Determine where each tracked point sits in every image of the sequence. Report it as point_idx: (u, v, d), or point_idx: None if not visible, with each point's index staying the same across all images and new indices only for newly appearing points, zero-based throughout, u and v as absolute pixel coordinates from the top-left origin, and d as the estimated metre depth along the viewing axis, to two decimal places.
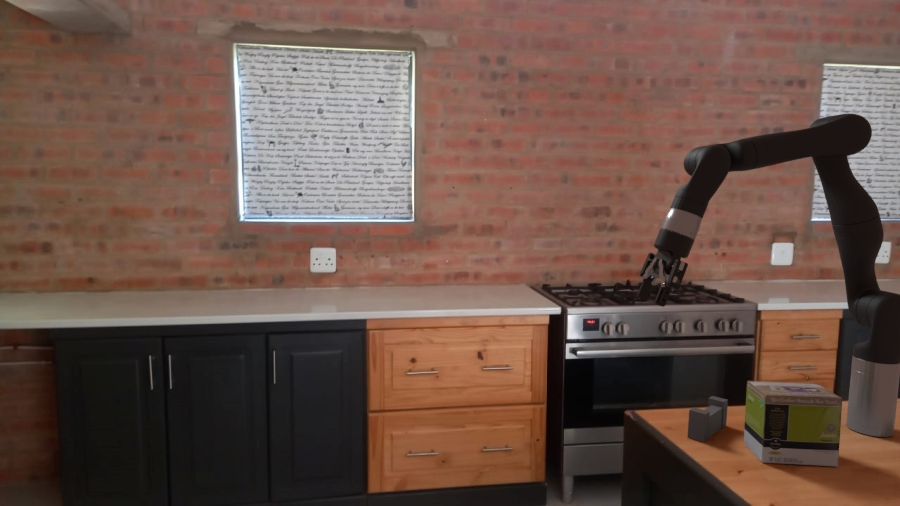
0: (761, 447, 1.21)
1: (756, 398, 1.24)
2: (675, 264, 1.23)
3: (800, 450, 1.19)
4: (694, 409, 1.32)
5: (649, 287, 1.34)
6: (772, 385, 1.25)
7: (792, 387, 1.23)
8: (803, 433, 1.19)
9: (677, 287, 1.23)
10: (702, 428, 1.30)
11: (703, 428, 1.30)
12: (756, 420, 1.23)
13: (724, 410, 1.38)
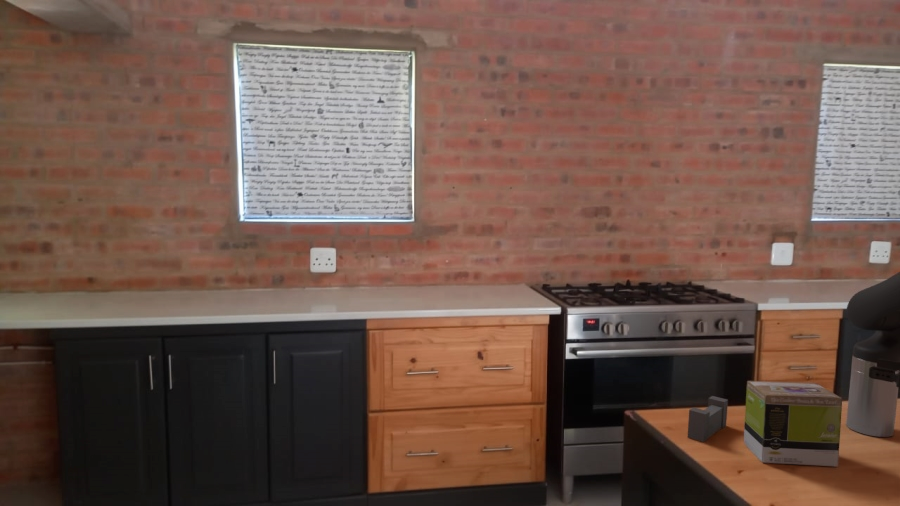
0: (761, 447, 1.21)
1: (756, 398, 1.24)
2: None
3: (800, 450, 1.19)
4: (694, 409, 1.32)
5: None
6: (772, 385, 1.25)
7: (792, 387, 1.23)
8: (803, 433, 1.19)
9: None
10: (702, 428, 1.30)
11: (703, 428, 1.30)
12: (756, 420, 1.23)
13: (724, 410, 1.38)
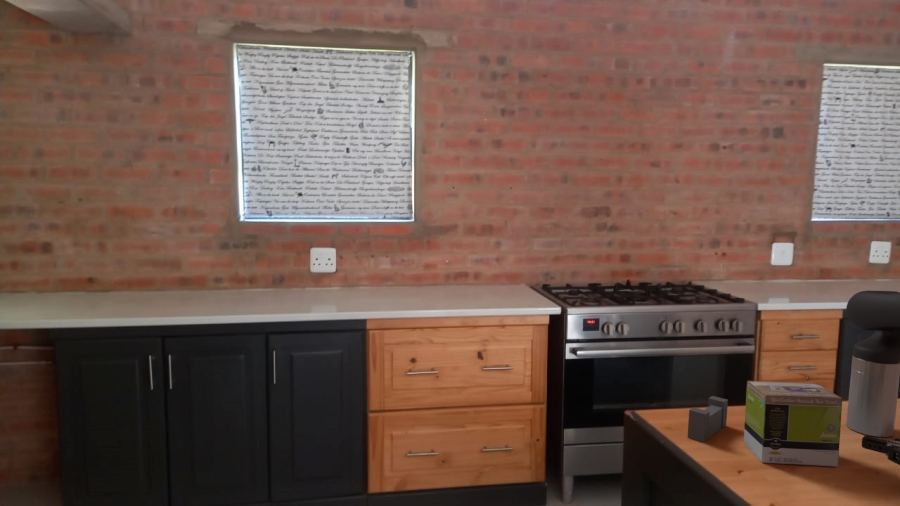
0: (761, 447, 1.21)
1: (756, 398, 1.24)
2: None
3: (800, 450, 1.19)
4: (694, 409, 1.32)
5: None
6: (772, 385, 1.25)
7: (792, 387, 1.23)
8: (803, 433, 1.19)
9: None
10: (702, 428, 1.30)
11: (703, 428, 1.30)
12: (756, 420, 1.23)
13: (724, 410, 1.38)
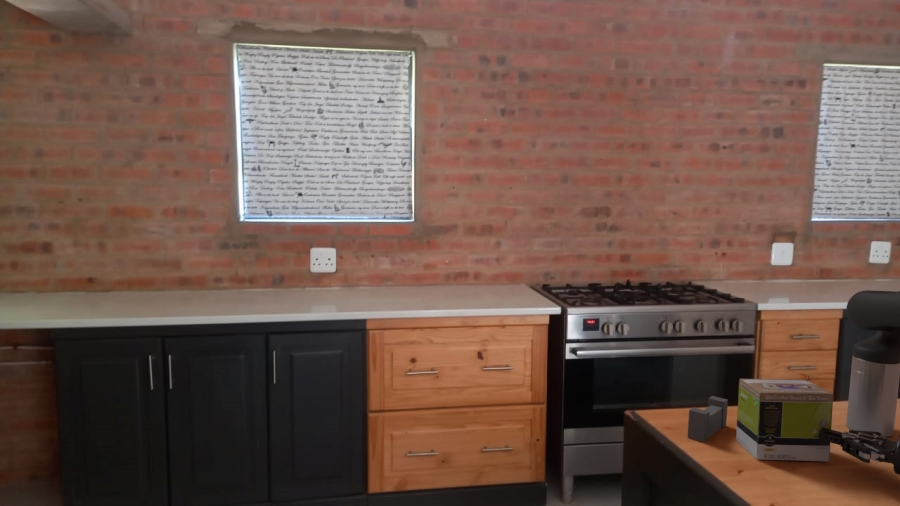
0: (755, 444, 1.22)
1: (749, 396, 1.25)
2: None
3: (794, 446, 1.21)
4: (694, 409, 1.32)
5: None
6: (764, 382, 1.26)
7: (784, 384, 1.25)
8: (796, 430, 1.21)
9: None
10: (702, 428, 1.30)
11: (703, 428, 1.30)
12: (749, 418, 1.25)
13: (724, 410, 1.38)
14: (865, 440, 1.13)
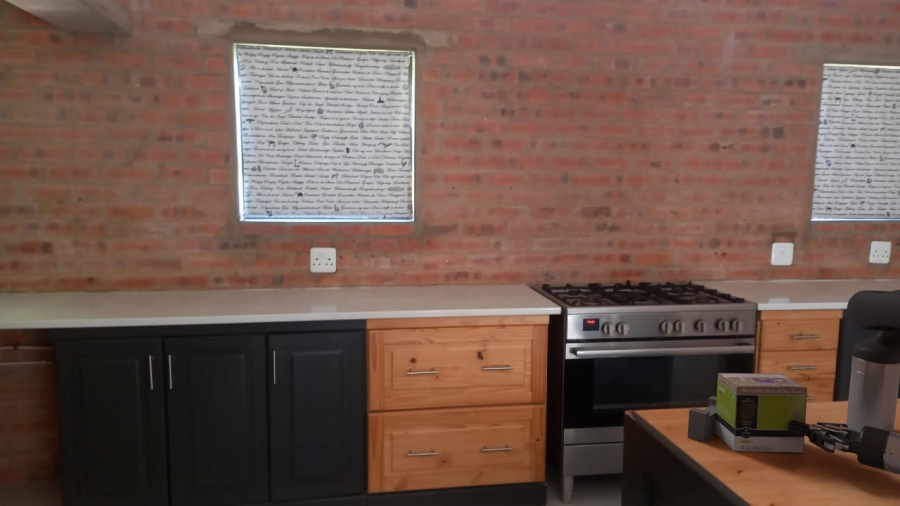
0: (732, 436, 1.26)
1: (727, 390, 1.29)
2: None
3: (769, 438, 1.25)
4: (694, 409, 1.32)
5: None
6: (742, 376, 1.30)
7: (760, 378, 1.29)
8: (771, 422, 1.25)
9: None
10: (702, 428, 1.30)
11: (703, 428, 1.30)
12: (727, 411, 1.28)
13: None
14: (831, 431, 1.17)
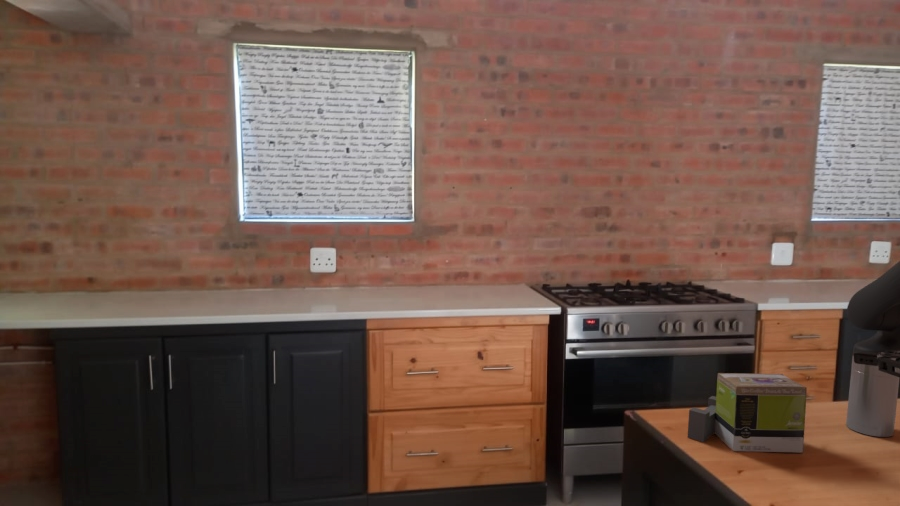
0: (732, 436, 1.26)
1: (727, 390, 1.29)
2: None
3: (769, 438, 1.25)
4: (694, 409, 1.32)
5: None
6: (741, 377, 1.30)
7: (760, 378, 1.29)
8: (771, 422, 1.25)
9: None
10: (702, 428, 1.30)
11: (703, 428, 1.30)
12: (727, 411, 1.28)
13: None
14: None
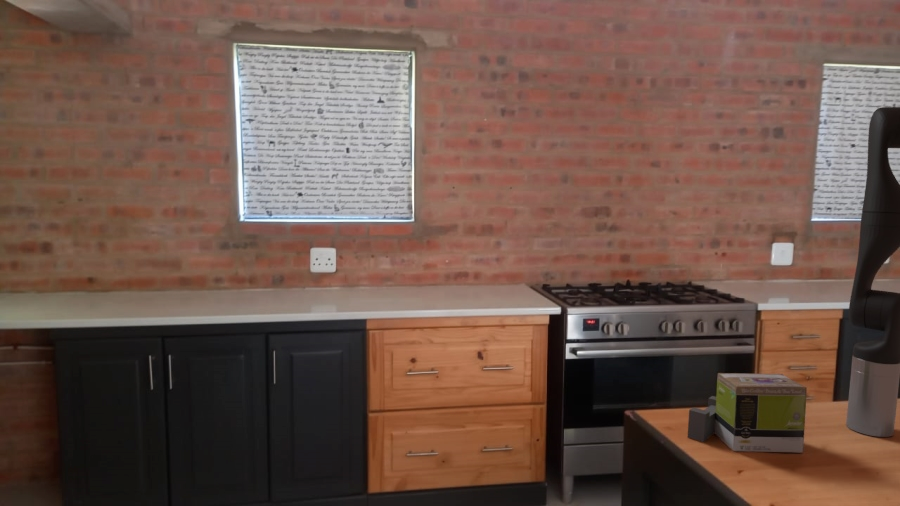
0: (732, 436, 1.26)
1: (727, 390, 1.29)
2: None
3: (769, 438, 1.25)
4: (694, 409, 1.32)
5: None
6: (741, 377, 1.30)
7: (760, 378, 1.29)
8: (771, 422, 1.25)
9: None
10: (702, 428, 1.30)
11: (703, 428, 1.30)
12: (727, 411, 1.28)
13: None
14: None
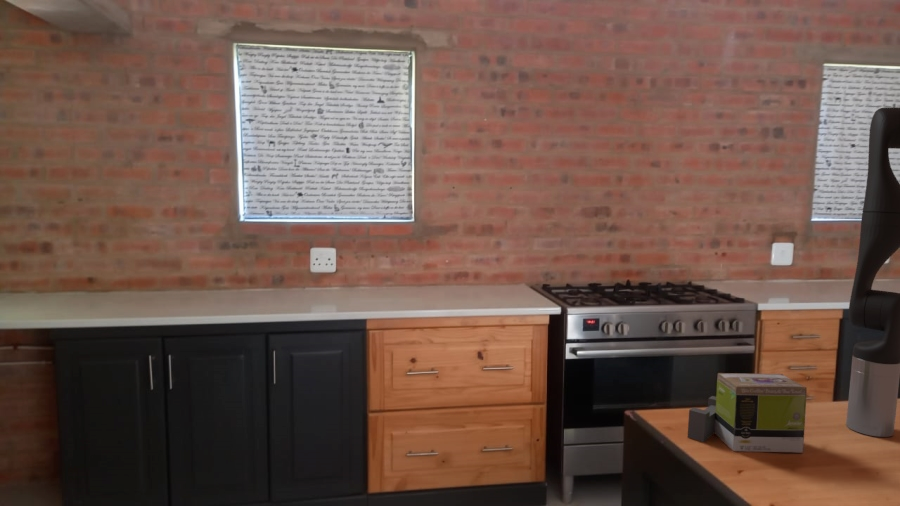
0: (732, 436, 1.26)
1: (727, 390, 1.29)
2: None
3: (769, 438, 1.25)
4: (694, 409, 1.32)
5: None
6: (741, 377, 1.30)
7: (760, 378, 1.29)
8: (771, 422, 1.25)
9: None
10: (702, 428, 1.30)
11: (703, 428, 1.30)
12: (727, 411, 1.28)
13: None
14: None
